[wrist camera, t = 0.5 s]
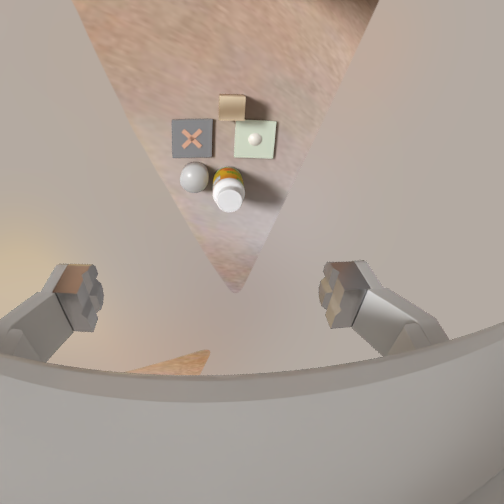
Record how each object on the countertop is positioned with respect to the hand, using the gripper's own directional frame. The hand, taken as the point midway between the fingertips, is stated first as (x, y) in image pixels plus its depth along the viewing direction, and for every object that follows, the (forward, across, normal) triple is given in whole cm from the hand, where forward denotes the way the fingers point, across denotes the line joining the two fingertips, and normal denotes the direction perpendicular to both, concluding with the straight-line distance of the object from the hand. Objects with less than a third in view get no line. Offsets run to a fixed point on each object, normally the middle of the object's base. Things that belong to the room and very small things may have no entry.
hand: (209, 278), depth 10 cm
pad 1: (+43, +4, +4) cm, 44 cm away
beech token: (+43, -3, -2) cm, 43 cm away
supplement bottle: (+44, -3, +12) cm, 45 cm away
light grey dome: (+43, +3, +12) cm, 45 cm away
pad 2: (+43, -7, +4) cm, 44 cm away
